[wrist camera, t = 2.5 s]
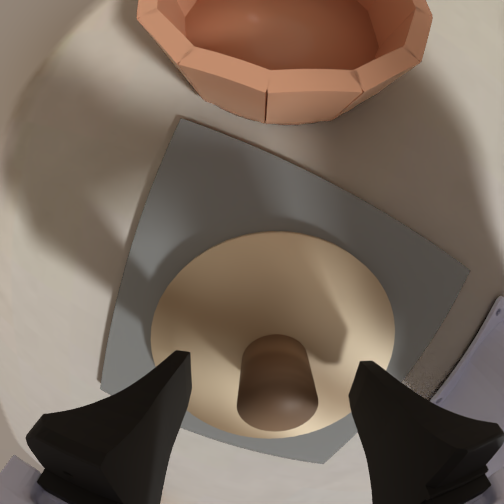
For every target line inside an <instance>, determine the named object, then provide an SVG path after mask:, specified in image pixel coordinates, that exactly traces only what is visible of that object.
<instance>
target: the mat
mask: <svg viewBox="0 0 504 504" xmlns="http://www.w3.org/2000/svg"><path fill="white" fill-rule="evenodd" d="M263 231H288V232H297V233H303V234H307V235H311V236H315V237H319V238H321V239H324V240H326V241H329V242H331V243H334V244H335V245H337V246H339V247H341V248H342V249H344V250H346V251H348V252H349V253H350V254H351V255H353V256H354V257H355V258H356V259H358V260H359V261H360V262H361V263H363V264H364V265H365V266H366V267H367V268H368V269H369V270H370V271H371V272H372V273H373V274H374V276H375V277H376V278H377V279H378V281H379V282H380V284H381V285H382V287H383V288H384V290H385V292H386V294H387V297H388V299H389V301H390V304H391V307H392V311H393V315H394V324H395V339H394V347H393V351H392V356H391V359H390V362H389V364H388V367H387V369H386V371H387V372H388V373H390V374H391V375H392V376H393V377H395V378H396V379H397V380H399V381H400V382H402V381H403V379H404V378H405V377H406V376H407V374H408V373H409V372H410V370H411V369H412V367H413V366H414V365H415V363H416V362H417V361H418V359H419V358H420V356H421V355H422V353H423V352H424V351H425V349H426V348H427V346H428V345H429V343H430V342H431V340H432V339H433V337H434V335H435V334H436V332H437V331H438V329H439V327H440V326H441V324H442V322H443V321H444V319H445V317H446V316H447V314H448V312H449V311H450V309H451V307H452V305H453V303H454V302H455V300H456V298H457V296H458V294H459V292H460V290H461V288H462V286H463V284H464V282H465V280H466V278H467V276H468V274H469V272H470V270H469V269H468V268H467V267H465V266H464V265H463V264H461V263H460V262H458V261H457V260H456V259H454V258H453V257H452V256H450V255H449V254H447V253H446V252H444V251H443V250H442V249H440V248H439V247H437V246H436V245H434V244H433V243H431V242H430V241H428V240H427V239H425V238H424V237H422V236H421V235H419V234H418V233H416V232H415V231H413V230H412V229H410V228H408V227H407V226H405V225H404V224H402V223H400V222H399V221H397V220H396V219H394V218H392V217H391V216H389V215H387V214H386V213H384V212H382V211H381V210H379V209H377V208H376V207H374V206H372V205H370V204H369V203H367V202H365V201H363V200H362V199H360V198H358V197H356V196H354V195H353V194H351V193H349V192H347V191H345V190H343V189H342V188H340V187H338V186H336V185H334V184H332V183H330V182H328V181H326V180H324V179H322V178H321V177H319V176H317V175H315V174H313V173H311V172H309V171H307V170H304V169H302V168H300V167H298V166H296V165H294V164H292V163H290V162H288V161H286V160H283V159H281V158H279V157H277V156H275V155H273V154H270V153H268V152H266V151H264V150H261V149H259V148H257V147H254V146H252V145H250V144H247V143H245V142H242V141H240V140H238V139H235V138H233V137H230V136H228V135H225V134H223V133H220V132H218V131H215V130H212V129H210V128H207V127H204V126H202V125H199V124H196V123H193V122H191V121H188V120H185V119H182V118H181V119H180V121H179V124H178V126H177V128H176V130H175V132H174V134H173V137H172V139H171V141H170V143H169V146H168V148H167V150H166V153H165V155H164V157H163V160H162V162H161V165H160V167H159V169H158V172H157V174H156V177H155V180H154V182H153V185H152V187H151V190H150V193H149V195H148V198H147V201H146V204H145V206H144V209H143V212H142V215H141V218H140V221H139V224H138V227H137V230H136V233H135V236H134V239H133V243H132V246H131V249H130V252H129V256H128V259H127V263H126V266H125V270H124V273H123V277H122V281H121V285H120V289H119V293H118V297H117V301H116V305H115V309H114V314H113V318H112V323H111V328H110V333H109V338H108V343H107V348H106V354H105V360H104V366H103V372H102V379H101V387H100V389H101V390H103V391H104V392H106V393H108V394H110V395H114V394H116V393H118V392H120V391H122V390H123V389H125V388H127V387H129V386H130V385H132V384H133V383H135V382H136V381H138V380H139V379H141V378H142V377H143V376H145V375H146V374H147V373H149V372H150V371H151V370H153V369H154V368H155V363H154V360H153V356H152V350H151V326H152V321H153V317H154V313H155V310H156V308H157V305H158V303H159V300H160V298H161V296H162V295H163V293H164V292H165V290H166V288H167V287H168V285H169V284H170V283H171V282H172V280H173V279H174V278H175V277H176V276H177V274H178V273H179V272H180V271H181V270H182V269H183V268H184V267H185V266H186V265H187V264H188V263H190V262H191V261H192V260H193V259H194V258H195V257H197V256H198V255H200V254H201V253H203V252H204V251H206V250H207V249H209V248H211V247H213V246H215V245H217V244H219V243H221V242H224V241H226V240H228V239H232V238H235V237H238V236H241V235H245V234H251V233H257V232H263ZM180 428H183V429H186V430H188V431H191V432H194V433H196V434H199V435H202V436H205V437H208V438H211V439H214V440H217V441H220V442H223V443H227V444H230V445H233V446H237V447H240V448H244V449H248V450H252V451H256V452H260V453H264V454H269V455H273V456H278V457H283V458H288V459H293V460H299V461H305V462H312V463H319V464H324V463H325V462H326V461H327V460H328V459H329V458H331V457H332V456H333V455H334V454H335V453H336V452H337V451H338V450H339V449H340V448H342V447H343V446H344V445H345V444H346V443H347V442H348V441H349V440H350V439H351V438H352V437H353V436H354V435H355V434H356V433H357V432H358V431H357V428H356V425H355V422H354V419H353V416H352V413H351V412H350V413H349V414H348V415H346V416H345V417H343V418H342V419H340V420H338V421H336V422H335V423H333V424H331V425H329V426H326V427H324V428H322V429H319V430H316V431H313V432H310V433H307V434H303V435H298V436H294V437H286V438H272V439H266V438H252V437H246V436H240V435H236V434H232V433H228V432H226V431H223V430H220V429H217V428H215V427H213V426H211V425H209V424H207V423H205V422H203V421H201V420H200V419H198V418H197V417H195V416H194V415H192V414H191V413H190V412H188V411H187V410H186V413H185V416H184V418H183V421H182V424H181V426H180Z"/></svg>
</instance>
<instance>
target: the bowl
mask: <svg viewBox="0 0 504 504" xmlns="http://www.w3.org/2000/svg"><path fill="white" fill-rule="evenodd" d="M432 18H433V17H432V13H431V11H430V9H429V7H428V5H427V2H426V0H138V8H137V20H138V21H139V23H140V24H141V25H142V26H143V27H144V29H145V30H146V31H147V32H148V33H149V34H150V36H151V37H152V38H153V39H154V41H155V42H156V43H157V44H158V45H159V47H160V48H161V49H162V50H163V52H164V53H165V54H166V55H167V57H168V58H169V59H170V60H171V62H172V63H173V64H174V65H175V66H176V67H177V69H178V70H179V71H180V72H181V73H182V75H183V76H184V77H185V78H186V79H187V81H188V82H189V83H190V84H191V85H192V87H193V88H194V89H195V90H196V91H197V93H198V94H199V95H200V96H201V98H202V99H203V100H205V101H206V102H209V103H212V104H214V105H216V106H218V107H219V108H221V109H223V110H225V111H228V112H230V113H232V114H234V115H237V116H240V117H243V118H246V119H249V120H253V121H258V122H261V123H266V124H278V125H300V124H310V123H316V122H320V121H331V120H334V119H335V118H337V117H338V116H340V115H342V114H344V113H346V112H347V111H349V110H351V109H353V108H354V107H356V106H357V105H358V104H360V103H362V102H364V101H365V100H367V99H369V98H370V97H372V96H374V95H376V94H377V93H379V92H380V91H381V90H383V89H384V88H385V87H387V86H388V85H390V84H391V83H392V82H394V81H395V80H397V79H398V78H399V77H401V76H402V75H404V74H405V73H406V72H408V71H409V70H411V69H412V68H414V67H415V66H416V65H418V64H419V63H420V62H421V61H422V57H423V54H424V50H425V47H426V43H427V39H428V35H429V31H430V27H431V23H432Z"/></svg>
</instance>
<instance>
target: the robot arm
mask: <svg viewBox="0 0 504 504" xmlns="http://www.w3.org/2000/svg"><path fill="white" fill-rule="evenodd" d="M191 391H192V376H191V354H190V352H187V351H180V350H176V351H174V352H173V353H172V354H171V355H169V356H168V357H167V358H166V359H165V360H164V361H162V362H161V363H160V364H159V365H158V366H156V367H155V368H154V369H153V370H151V371H150V372H149V373H147V374H146V375H145V376H143V377H142V378H141V379H139V380H138V381H136V382H135V383H133V384H132V385H130V386H129V387H127V388H125V389H123V390H122V391H120V392H118V393H116V394H114V395H112V396H110V397H107V398H105V399H102V400H100V401H97V402H95V403H92V404H90V405H86V406H83V407H80V408H76V409H72V410H67V411H62V412H56V413H49V414H43V415H42V416H41V418H40V419H39V420H38V421H37V423H36V424H35V425H34V426H33V428H32V429H31V430H30V431H29V433H28V434H27V435H26V441H27V444H28V446H29V448H30V449H31V451H32V452H33V454H34V455H35V456H36V458H37V459H38V460H39V462H40V463H41V464H42V466H43V467H44V468H45V469H44V471H43V473H42V474H41V473H40V472H39V471H38V470H36V469H35V468H34V467H32V466H31V465H29V464H28V463H26V462H24V461H23V460H21V459H20V458H18V457H17V456H16V455H13V456H12V458H11V459H10V460H9V462H8V463H7V464H6V466H5V467H4V469H3V470H2V471H1V473H0V504H160V501H161V495H162V490H163V485H164V480H165V475H166V470H167V466H168V462H169V458H170V454H171V451H172V447H173V445H174V442H175V439H176V437H177V434H178V431H179V429H180V426H181V424H182V421H183V418H184V416H185V413H186V410H187V408H188V404H189V400H190V395H191ZM348 397H349V403H350V408H351V413H352V416H353V419H354V422H355V425H356V428H357V431H358V434H359V437H360V439H361V442H362V445H363V448H364V451H365V455H366V458H367V463H368V469H369V474H370V481H371V489H372V501H373V504H504V297H503V296H499V297H498V298H497V299H496V301H495V303H494V305H493V307H492V308H491V310H490V312H489V314H488V316H487V318H486V320H485V321H484V323H483V325H482V327H481V328H480V330H479V332H478V334H477V335H476V337H475V338H474V340H473V342H472V343H471V345H470V346H469V348H468V350H467V351H466V353H465V354H464V356H463V357H462V359H461V360H460V362H459V363H458V364H457V366H456V367H455V369H454V370H453V371H452V373H451V374H450V375H449V377H448V378H447V380H446V381H445V382H444V383H443V385H442V386H441V387H440V389H439V390H438V391H437V392H436V394H435V395H434V396H433V397H432V398H431V400H430V401H428V400H426V399H425V398H423V397H421V396H420V395H418V394H417V393H415V392H414V391H412V390H411V389H409V388H408V387H407V386H405V385H404V384H403V383H401V382H400V381H399V380H397V379H396V378H395V377H393V376H392V375H391V374H390V373H388V372H387V371H386V370H385V369H383V368H382V367H381V366H379V365H378V364H377V363H375V362H374V361H360V362H359V365H358V368H357V371H356V374H355V377H354V380H353V383H352V386H351V389H350V392H349V395H348Z"/></svg>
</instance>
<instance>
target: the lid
mask: <svg viewBox="0 0 504 504" xmlns="http://www.w3.org/2000/svg"><path fill="white" fill-rule="evenodd" d="M394 339H395V324H394V315H393V311H392V307H391V304H390V301H389V299H388V297H387V294H386V292H385V290H384V288H383V287H382V285H381V284H380V282H379V281H378V279H377V278H376V277H375V276H374V274H373V273H372V272H371V271H370V270H369V269H368V268H367V267H366V266H365V265H364V264H363V263H361V262H360V261H359V260H358V259H356V258H355V257H354V256H353V255H351V254H350V253H349V252H348V251H346V250H344V249H342V248H341V247H339V246H337V245H335V244H334V243H331V242H329V241H326V240H324V239H321V238H319V237H315V236H311V235H307V234H303V233H297V232H288V231H263V232H257V233H251V234H245V235H241V236H238V237H235V238H232V239H228V240H226V241H224V242H221V243H219V244H217V245H215V246H213V247H211V248H209V249H207V250H206V251H204V252H203V253H201V254H200V255H198V256H197V257H195V258H194V259H193V260H192V261H191V262H190V263H188V264H187V265H186V266H185V267H184V268H183V269H182V270H181V271H180V272H179V273H178V274H177V276H176V277H175V278H174V279H173V280H172V282H171V283H170V284H169V285H168V287H167V288H166V290H165V292H164V293H163V295H162V296H161V298H160V300H159V303H158V305H157V308H156V310H155V313H154V317H153V321H152V326H151V350H152V356H153V360H154V363H155V367H156V366H158V365H159V364H160V363H161V362H162V361H164V360H165V359H166V358H167V357H168V356H169V355H171V354H172V353H173V352H174V351H176V350H180V351H187V352H190V354H191V376H192V391H191V395H190V400H189V404H188V408H187V411H188V412H190V413H191V414H192V415H194V416H195V417H197V418H198V419H200V420H201V421H203V422H205V423H207V424H209V425H211V426H213V427H215V428H217V429H220V430H223V431H226V432H228V433H232V434H236V435H240V436H246V437H252V438H266V439H272V438H286V437H294V436H298V435H303V434H307V433H310V432H313V431H316V430H319V429H322V428H324V427H326V426H329V425H331V424H333V423H335V422H336V421H338V420H340V419H342V418H343V417H345V416H346V415H348V414H349V413H350V412H351V408H350V403H349V397H348V395H349V392H350V389H351V386H352V383H353V380H354V377H355V374H356V371H357V368H358V365H359V362H360V361H374V362H375V363H377V364H378V365H379V366H381V367H382V368H383V369H385V370H386V369H387V367H388V364H389V362H390V359H391V356H392V351H393V347H394Z"/></svg>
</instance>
